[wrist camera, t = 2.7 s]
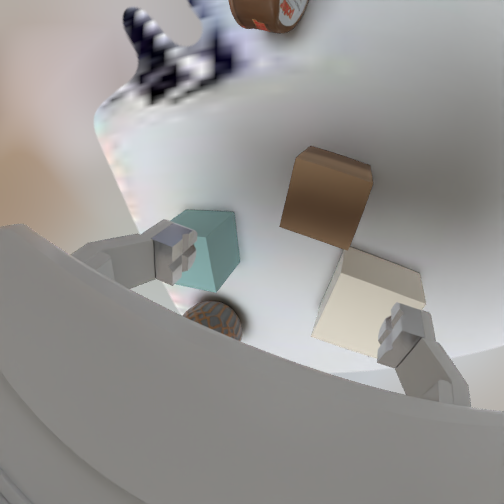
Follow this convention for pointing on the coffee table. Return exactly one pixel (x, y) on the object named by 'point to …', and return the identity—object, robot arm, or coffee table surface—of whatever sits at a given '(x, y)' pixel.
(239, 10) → the tin
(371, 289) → the limestone block
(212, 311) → the vase
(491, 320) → the coffee table surface
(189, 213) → the teal cube
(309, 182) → the walnut block
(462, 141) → the coffee table surface
